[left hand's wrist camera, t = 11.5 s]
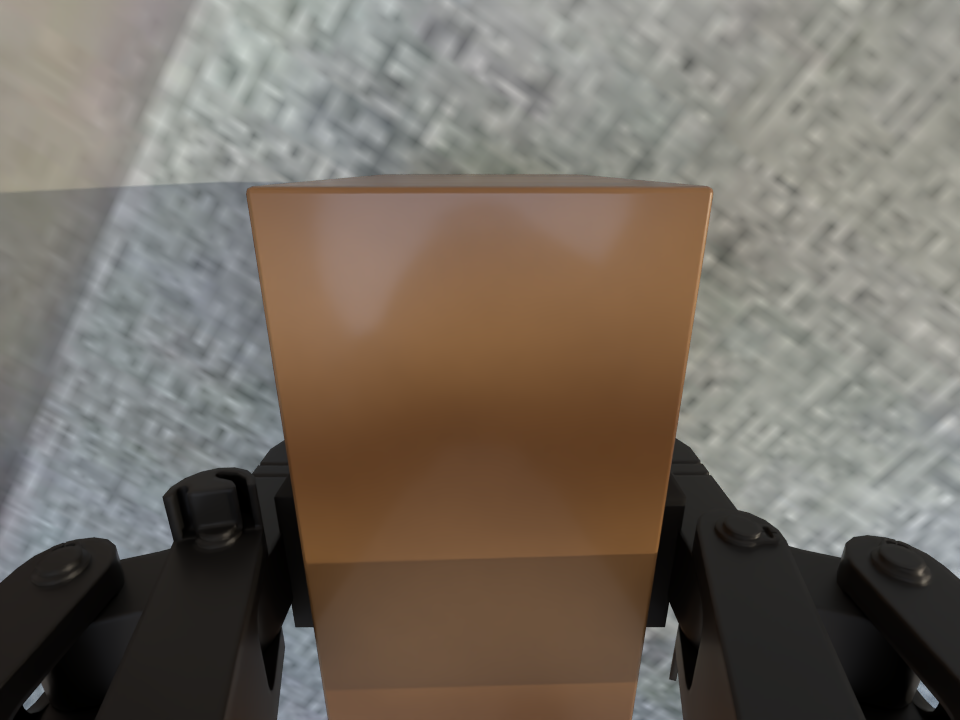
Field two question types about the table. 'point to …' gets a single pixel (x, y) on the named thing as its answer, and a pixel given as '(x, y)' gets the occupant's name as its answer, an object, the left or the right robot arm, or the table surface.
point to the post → (479, 429)
